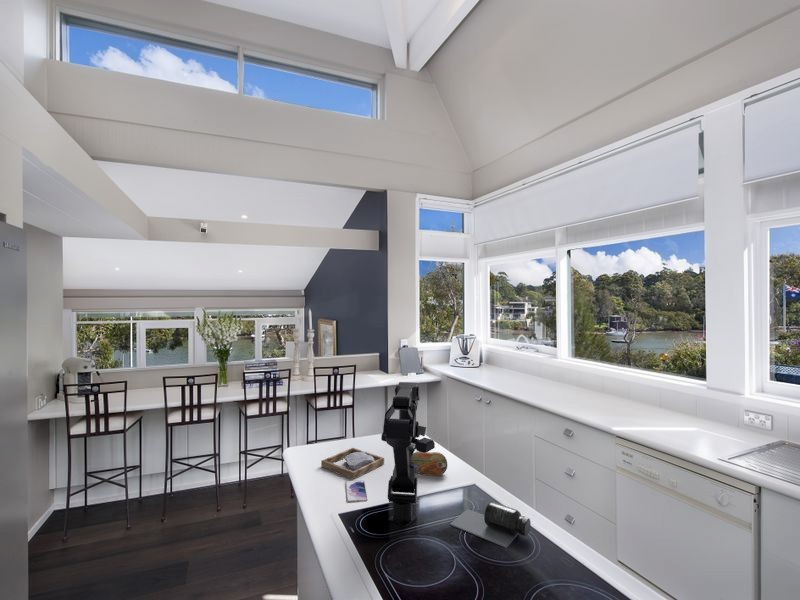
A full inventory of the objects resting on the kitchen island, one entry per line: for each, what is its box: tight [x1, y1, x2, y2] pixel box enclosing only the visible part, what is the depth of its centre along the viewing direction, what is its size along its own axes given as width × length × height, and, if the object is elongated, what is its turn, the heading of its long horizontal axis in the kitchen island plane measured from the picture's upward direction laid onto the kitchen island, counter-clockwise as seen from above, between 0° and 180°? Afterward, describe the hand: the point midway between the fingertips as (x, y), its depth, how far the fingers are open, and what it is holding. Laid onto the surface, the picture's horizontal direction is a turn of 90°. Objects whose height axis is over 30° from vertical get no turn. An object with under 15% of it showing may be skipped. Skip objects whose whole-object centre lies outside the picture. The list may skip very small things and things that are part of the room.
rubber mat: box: [449, 508, 520, 549], centre depth 121 cm, size 11×18×1 cm, turn 52°
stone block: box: [344, 450, 375, 471], centre depth 165 cm, size 12×5×10 cm
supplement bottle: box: [483, 501, 532, 537], centre depth 118 cm, size 7×7×12 cm
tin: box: [409, 451, 448, 477], centre depth 157 cm, size 15×3×8 cm, turn 82°
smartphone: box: [345, 479, 369, 503], centre depth 143 cm, size 7×1×15 cm
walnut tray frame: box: [320, 447, 385, 481], centre depth 164 cm, size 18×18×2 cm
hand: (407, 465), depth 136 cm, fingers closed
